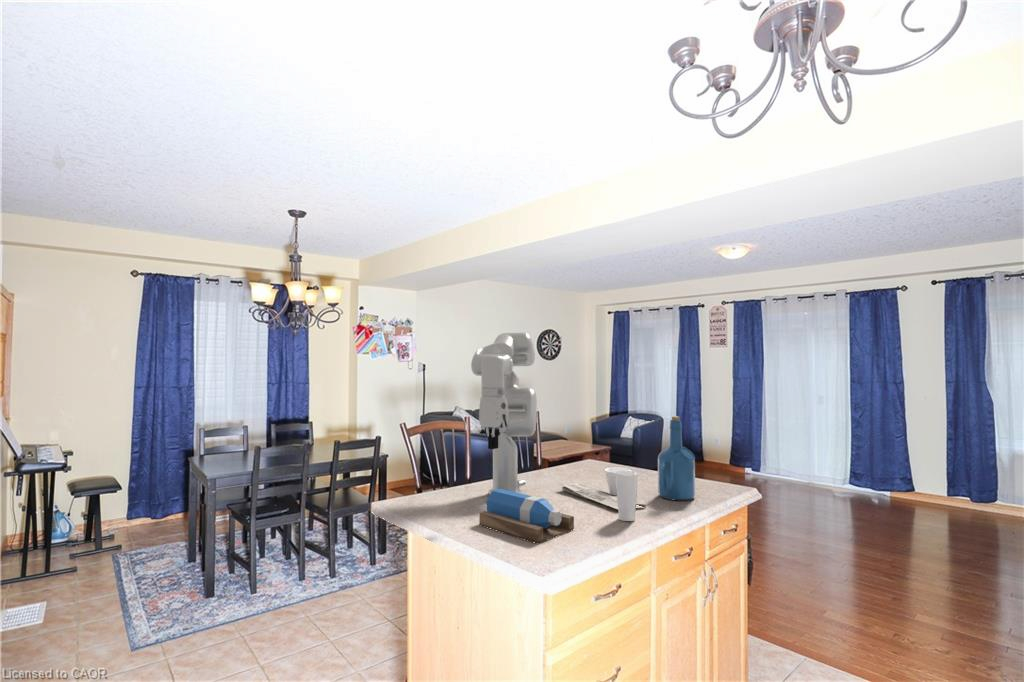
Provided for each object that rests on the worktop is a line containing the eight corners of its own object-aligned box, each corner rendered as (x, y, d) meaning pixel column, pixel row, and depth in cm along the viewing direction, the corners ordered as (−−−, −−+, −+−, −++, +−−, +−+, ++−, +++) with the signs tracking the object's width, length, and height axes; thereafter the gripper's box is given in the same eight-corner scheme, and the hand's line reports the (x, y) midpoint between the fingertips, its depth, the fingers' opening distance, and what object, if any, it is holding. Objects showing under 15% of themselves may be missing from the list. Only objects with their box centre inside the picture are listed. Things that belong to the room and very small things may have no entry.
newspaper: (645, 509, 181) (645, 499, 181) (619, 515, 174) (619, 504, 175) (580, 488, 211) (580, 479, 211) (555, 492, 204) (555, 483, 204)
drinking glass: (629, 515, 173) (629, 469, 173) (642, 521, 166) (641, 474, 167) (612, 517, 170) (611, 471, 171) (623, 524, 164) (623, 475, 164)
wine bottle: (651, 496, 196) (650, 416, 197) (670, 490, 205) (669, 413, 206) (684, 504, 186) (683, 419, 187) (703, 497, 195) (701, 416, 196)
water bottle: (490, 523, 168) (552, 541, 151) (482, 499, 166) (544, 514, 149) (508, 506, 175) (569, 522, 158) (501, 482, 172) (562, 495, 156)
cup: (603, 496, 196) (603, 472, 196) (606, 490, 206) (606, 466, 206) (630, 498, 193) (630, 473, 193) (632, 492, 203) (632, 468, 203)
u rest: (516, 513, 175) (516, 501, 175) (573, 529, 158) (573, 516, 159) (479, 525, 163) (479, 512, 163) (537, 544, 146) (537, 529, 146)
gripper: (517, 393, 170) (517, 449, 170) (485, 390, 180) (485, 444, 180) (500, 395, 164) (501, 453, 164) (469, 392, 175) (469, 447, 175)
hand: (493, 448), depth 172 cm, fingers closed
